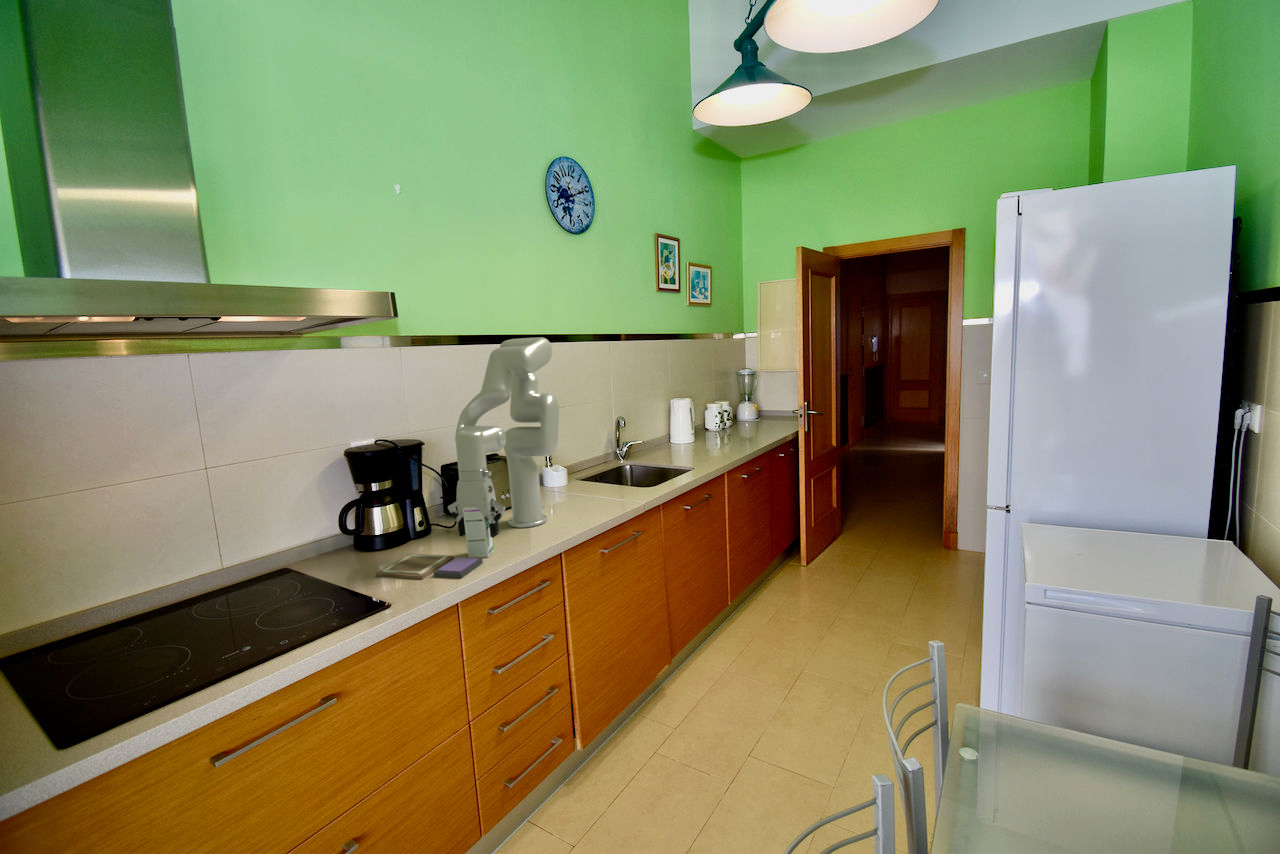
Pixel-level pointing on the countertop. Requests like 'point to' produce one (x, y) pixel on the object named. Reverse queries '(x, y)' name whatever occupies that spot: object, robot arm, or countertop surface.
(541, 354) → the robot arm
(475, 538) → the syrup box
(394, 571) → the board
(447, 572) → the ink pad
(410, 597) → the countertop surface
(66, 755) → the countertop surface
